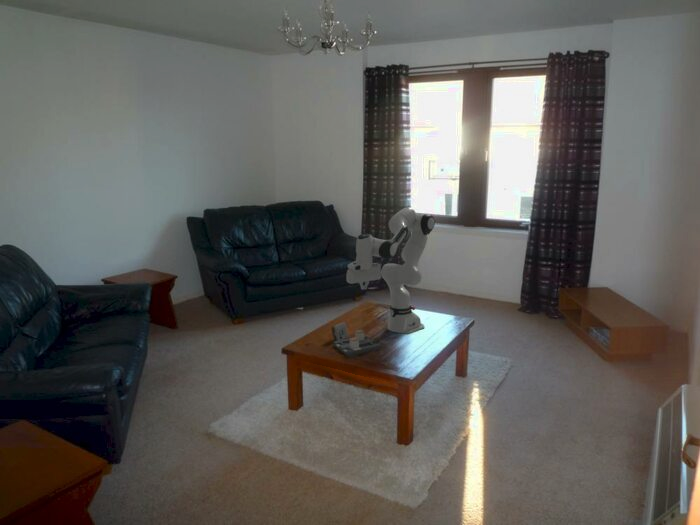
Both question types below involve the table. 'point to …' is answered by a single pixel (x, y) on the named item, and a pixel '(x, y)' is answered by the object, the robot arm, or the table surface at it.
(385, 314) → the table surface
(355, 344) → the tab
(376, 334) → the table surface
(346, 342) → the switch bank
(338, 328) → the electrical switch
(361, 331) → the tab
